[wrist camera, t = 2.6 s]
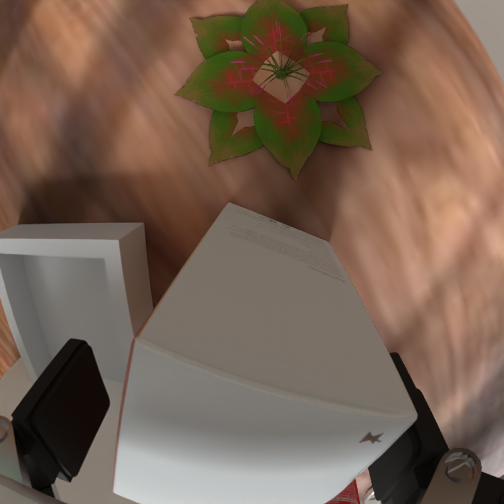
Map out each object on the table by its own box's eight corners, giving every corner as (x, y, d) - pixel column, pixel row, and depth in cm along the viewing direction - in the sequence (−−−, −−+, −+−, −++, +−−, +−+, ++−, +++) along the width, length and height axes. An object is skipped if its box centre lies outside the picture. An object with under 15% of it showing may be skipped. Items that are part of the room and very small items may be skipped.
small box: (226, 199, 17) (127, 331, 5) (331, 241, 18) (430, 417, 5) (185, 317, 20) (108, 495, 7) (276, 350, 20) (277, 538, 8)
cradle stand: (201, 222, 18) (10, 486, 2) (213, 403, 22) (173, 597, 7) (-9, 225, 18) (-159, 309, 3) (32, 368, 23) (-54, 480, 8)
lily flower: (363, -10, 13) (386, -44, 9) (394, 174, 17) (430, 184, 12) (165, 9, 14) (138, -23, 10) (189, 195, 18) (163, 211, 13)
